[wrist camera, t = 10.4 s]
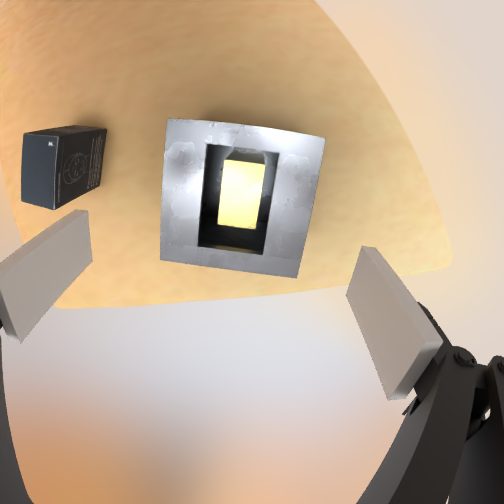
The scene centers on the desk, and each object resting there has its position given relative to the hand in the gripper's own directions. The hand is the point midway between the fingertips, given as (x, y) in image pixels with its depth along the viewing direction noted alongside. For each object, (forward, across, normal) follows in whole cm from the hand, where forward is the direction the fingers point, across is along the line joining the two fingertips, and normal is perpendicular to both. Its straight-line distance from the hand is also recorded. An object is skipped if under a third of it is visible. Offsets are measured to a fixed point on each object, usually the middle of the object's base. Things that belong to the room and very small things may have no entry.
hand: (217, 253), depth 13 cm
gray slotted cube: (+22, 0, -1) cm, 22 cm away
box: (+23, -21, 0) cm, 31 cm away
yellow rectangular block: (+22, 0, -1) cm, 22 cm away
